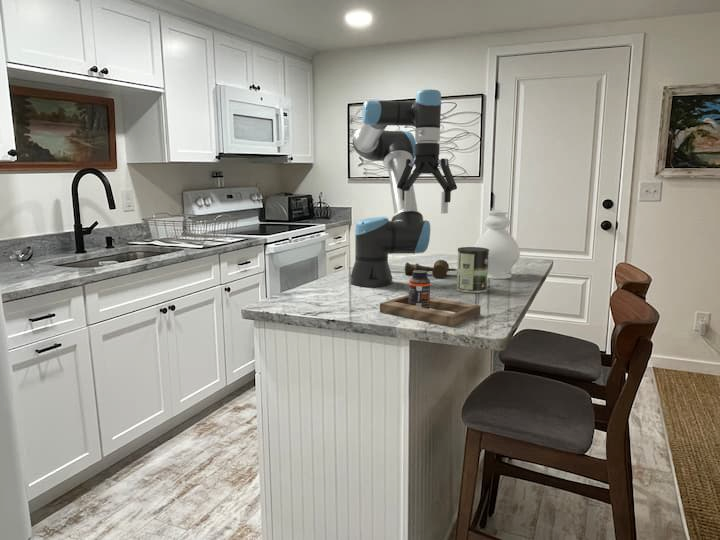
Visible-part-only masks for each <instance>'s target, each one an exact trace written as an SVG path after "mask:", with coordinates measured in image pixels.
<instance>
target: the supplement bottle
mask: <svg viewBox="0 0 720 540" xmlns="http://www.w3.org/2000/svg"><path fill="white" fill-rule="evenodd" d="M430 293H431V280H430V279H429V278H428V272H427V271H423V270H415V271H413V273H412V277H411V278H410V279H409V281H408V295H409V305H414V306H420V307H423V308H426V309H429V300H430V297H431V296H430V295H431V294H430Z"/></svg>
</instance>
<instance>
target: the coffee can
mask: <svg viewBox="0 0 720 540" xmlns="http://www.w3.org/2000/svg"><path fill="white" fill-rule="evenodd" d="M488 255H489V249H487V248H480V247H473V246H462V247H458V248H457V268H456V269H457V270H456V271H457V274H456V275H457V276H456V277H457V278H456V291H459V292H462V293H469V294H475V293H476V294H479V293H480V294H481V293H485V292H487V291H488V278H487V275H488Z"/></svg>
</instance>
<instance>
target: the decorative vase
mask: <svg viewBox="0 0 720 540" xmlns="http://www.w3.org/2000/svg"><path fill="white" fill-rule="evenodd" d="M487 214H489V215H488V216H487V217H485V220H484V224H485V226H486V227H487V228H488V229H487V230H486V231H484V233H482V235H480V236H479V238H478V239H477V240H476V241H475V242H474V244H473V246H472V247H480V248H487V249H489V255H488V275H487V279H491V280H506V279H510V278H512V274H510V273H508V272H509V271H510V270H511V269H512V268H513V267H514V265H516V263H517V262H518V261H519V259H520V257H521V250H520V246H519V244H518V243H517V240H515V238H514V237H513V236H512V235H511V233H509V231H508V230H507V229H506V228H508V227H509V226H510V224H511V219H510V218H509V217H508V216H507V215H508V214H509V211H508V210H488V211H487Z"/></svg>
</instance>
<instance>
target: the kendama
mask: <svg viewBox="0 0 720 540" xmlns="http://www.w3.org/2000/svg"><path fill="white" fill-rule="evenodd" d="M449 267H450V266H449V263H448V261H446V260H444V259H438V260H437V261H435V262H434V264H433V267H432V266H431V267H430V266H424V265H421V264H419V263H416V264H412V263H409V262H405V264H404V274H405V276H409V275H411V274H412V275H413V271H415V270H423V271H427V273H428V272H431V274H432V275H433V278H435V279H444V278H445V277H446V276H447V273H448V272H456V271H457V269H458V268H449Z"/></svg>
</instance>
